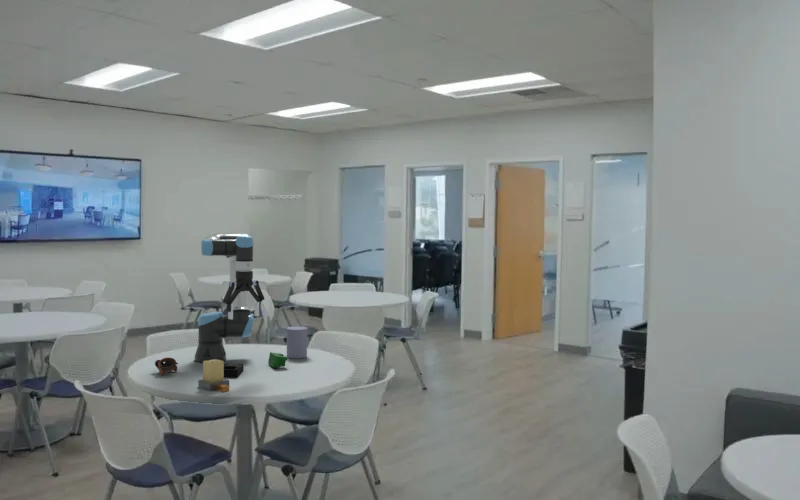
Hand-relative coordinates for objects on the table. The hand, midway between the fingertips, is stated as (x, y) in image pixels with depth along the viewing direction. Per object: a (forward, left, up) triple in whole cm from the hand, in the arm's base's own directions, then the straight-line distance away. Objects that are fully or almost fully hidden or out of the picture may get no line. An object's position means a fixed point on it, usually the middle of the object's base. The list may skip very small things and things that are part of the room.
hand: (243, 317), depth 287 cm
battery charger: (-5, -4, -27) cm, 28 cm away
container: (-14, +42, -26) cm, 51 cm away
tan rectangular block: (+9, -21, -23) cm, 33 cm away
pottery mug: (-27, -23, -27) cm, 45 cm away
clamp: (-5, +22, -27) cm, 35 cm away
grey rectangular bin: (+10, -21, -26) cm, 35 cm away
